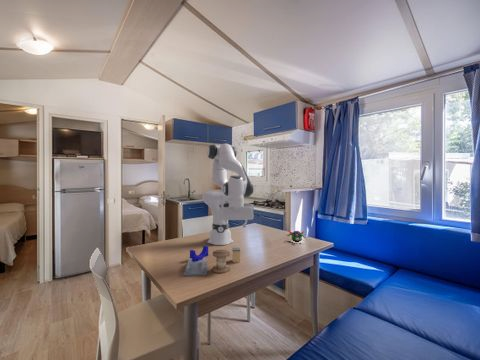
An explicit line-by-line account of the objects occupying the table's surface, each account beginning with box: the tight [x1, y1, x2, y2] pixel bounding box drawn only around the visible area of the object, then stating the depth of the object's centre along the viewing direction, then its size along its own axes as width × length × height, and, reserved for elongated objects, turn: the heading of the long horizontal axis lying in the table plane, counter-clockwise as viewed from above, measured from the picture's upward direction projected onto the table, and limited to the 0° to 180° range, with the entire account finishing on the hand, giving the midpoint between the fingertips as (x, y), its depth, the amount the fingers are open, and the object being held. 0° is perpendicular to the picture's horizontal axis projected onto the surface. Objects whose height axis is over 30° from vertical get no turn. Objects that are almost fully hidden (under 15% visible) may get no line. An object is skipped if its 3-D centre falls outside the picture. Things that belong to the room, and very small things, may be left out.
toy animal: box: [286, 229, 307, 242], centre depth 168 cm, size 11×15×10 cm
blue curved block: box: [189, 245, 209, 262], centre depth 136 cm, size 12×4×6 cm, turn 142°
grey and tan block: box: [231, 247, 241, 263], centre depth 131 cm, size 4×4×7 cm
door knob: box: [212, 249, 231, 274], centre depth 119 cm, size 9×9×9 cm
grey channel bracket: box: [183, 257, 208, 277], centre depth 120 cm, size 16×11×4 cm
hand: (236, 227), depth 131 cm, fingers open, 8 cm apart
